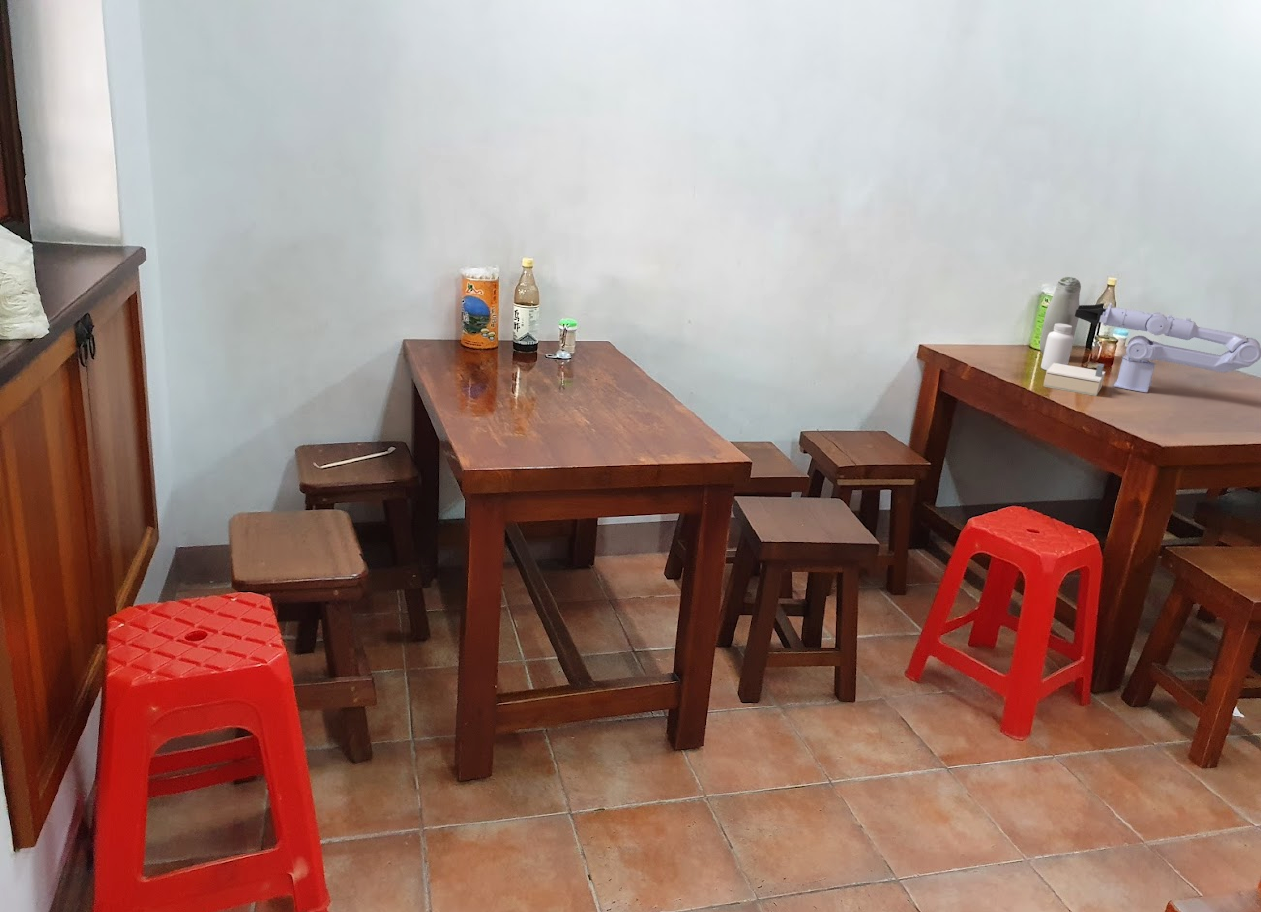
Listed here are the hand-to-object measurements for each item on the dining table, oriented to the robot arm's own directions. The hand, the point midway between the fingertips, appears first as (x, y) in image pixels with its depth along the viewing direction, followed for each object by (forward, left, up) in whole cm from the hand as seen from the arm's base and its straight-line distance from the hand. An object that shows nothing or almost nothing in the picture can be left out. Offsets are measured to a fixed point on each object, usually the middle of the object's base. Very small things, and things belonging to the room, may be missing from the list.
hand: (1076, 310), depth 299 cm
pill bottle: (+4, -7, -21) cm, 23 cm away
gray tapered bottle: (+7, -25, -21) cm, 33 cm away
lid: (-5, +12, -17) cm, 21 cm away
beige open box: (-5, +12, -21) cm, 25 cm away
